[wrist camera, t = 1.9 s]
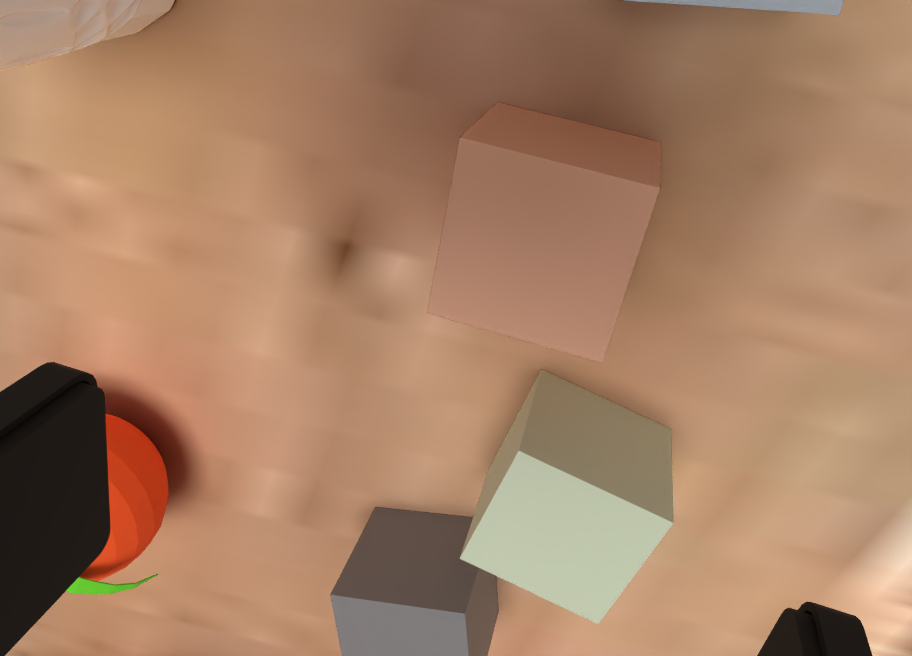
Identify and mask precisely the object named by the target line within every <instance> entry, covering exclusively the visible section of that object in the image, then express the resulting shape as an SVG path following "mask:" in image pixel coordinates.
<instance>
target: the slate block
mask: <svg viewBox="0 0 912 656" xmlns="http://www.w3.org/2000/svg"><path fill="white" fill-rule="evenodd" d="M625 1H639V2H654V3H669V4H684V5H699V6H714V7H729V8H744V9H759V10H774V11H788V12H803V13H818V14H833V15H840V11H841V7H842V3H843V0H625Z"/></svg>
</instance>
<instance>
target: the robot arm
mask: <svg viewBox="0 0 912 656" xmlns="http://www.w3.org/2000/svg"><path fill="white" fill-rule="evenodd" d="M110 529H111V527H110V504H109V482H108V459H107V437H106V415H105V396H104V392H103V391H102V389H100V388H98V387H97V383H96V379H95V378H94V376H93V375H91V374H89V373H86V372H83V371H80V370H77V369H74V368H71V367H67V366H64V365H61V364H58V363H55V362H50V363H46V364H43V365H41V366H40V367H38V368H36V369H35V370H33V371H32V372H30V373H29V374H27V375H26V376H24V377H23V378H21V379H20V380H18V381H17V382H15V383H14V384H12V385H10V386H9V387H7V388H6V389H4V390H3V391H1V392H0V656H5V655H6V654H7V653H8V652H9V651H10V650H11V648H12V647H13V646H14V645H15V644H16V643H17V642H18V641H19V640H20V639H21V638H22V637H23V636H24V635H25V634H26V633H27V631H28V630H29V629H30V628H31V627H32V626H33V625H34V624H35V623H36V622H37V621H38V620H39V619H40V618H41V617H42V616H43V615H44V613H45V612H46V611H47V610H48V609H49V608H50V607H51V606H52V605H53V604H54V603H55V602H56V601H57V600H58V599H59V598H60V597H61V595H62V594H63V593H64V592H65V591H66V590H67V589H68V588H69V587H70V586H71V585H72V584H73V583H74V582H75V581H76V580H77V578H78V577H79V576H80V575H81V574H82V573H83V572H84V571H85V570H86V569H87V568H88V567H89V566H90V565H91V564H92V563H93V562H94V560H95V559H96V558H97V557H98V556H99V555H100V554H101V552H102V551H103V549H104V548H105V546H106V544H107V541H108V539H109V535H110ZM757 656H872V653H871V650H870V647H869V643H868V640H867V637H866V634H865V630H864V627H863V625H862V623H861V621H860V620H859V619H858V618H857V617H856V616H853V615H850V614H847V613H844V612H841V611H838V610H835V609H831V608H828V607H825V606H822V605H819V604H816V603H812V602H805V603H804V604H802V605H801V607H800V608H799V609H798V610H795V609H792V608H787V609H785V610H784V611H783V613H782V614H781V616H780V617H779V619H778V621H777V623H776V624H775V626H774V628H773V630H772V631H771V633H770V635H769V636H768V638H767V640H766V642H765V643H764V645H763V647H762V649H761V650H760V652H759V654H758V655H757Z"/></svg>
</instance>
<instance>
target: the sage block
mask: <svg viewBox="0 0 912 656" xmlns="http://www.w3.org/2000/svg"><path fill="white" fill-rule="evenodd" d="M672 524H673V483H672V443H671V429H669V428H667V427H665V426H663V425H661V424H659V423H656V422H654V421H652V420H650V419H648V418H646V417H644V416H641V415H639V414H637V413H635V412H633V411H631V410H628V409H626V408H624V407H622V406H620V405H618V404H615V403H613V402H611V401H609V400H607V399H605V398H603V397H600V396H598V395H596V394H594V393H592V392H590V391H587V390H585V389H583V388H581V387H579V386H577V385H574V384H572V383H570V382H568V381H566V380H564V379H562V378H559V377H557V376H555V375H553V374H551V373H549V372H546V371H544V370H542V369H541V371H540V373H539V375H538V377H537V379H536V381H535V382H534V384H533V386H532V388H531V390H530V392H529V394H528V396H527V398H526V399H525V401H524V403H523V405H522V407H521V409H520V411H519V413H518V415H517V417H516V418H515V420H514V422H513V424H512V426H511V428H510V430H509V432H508V434H507V435H506V437H505V439H504V441H503V443H502V445H501V447H500V449H499V451H498V452H497V454H496V456H495V458H494V460H493V462H492V464H491V466H490V468H489V470H488V473H487V476H486V479H485V483H484V486H483V489H482V492H481V495H480V498H479V501H478V504H477V507H476V510H475V513H474V516H473V519H472V522H471V525H470V528H469V531H468V535H467V538H466V541H465V544H464V547H463V550H462V553H461V556H460V559H462V560H464V561H466V562H468V563H470V564H472V565H474V566H476V567H479V568H481V569H483V570H485V571H487V572H489V573H491V574H493V575H495V576H498V577H500V578H502V579H504V580H506V581H508V582H510V583H512V584H514V585H517V586H519V587H521V588H523V589H525V590H527V591H529V592H531V593H534V594H536V595H538V596H540V597H542V598H544V599H546V600H548V601H550V602H553V603H555V604H557V605H559V606H561V607H563V608H565V609H567V610H569V611H572V612H574V613H576V614H578V615H580V616H582V617H584V618H586V619H588V620H591V621H593V622H595V623H597V624H599V622H600V621H601V620H602V618H603V617H604V616H605V614H606V613H607V612H608V610H609V609H610V608H611V606H612V605H613V604H614V602H615V601H616V599H617V598H618V597H619V595H620V594H621V593H622V591H623V590H624V589H625V587H626V586H627V585H628V583H629V582H630V581H631V579H632V578H633V577H634V575H635V574H636V573H637V571H638V570H639V569H640V567H641V566H642V565H643V563H644V562H645V561H646V559H647V558H648V556H649V555H650V554H651V552H652V551H653V550H654V548H655V547H656V546H657V544H658V543H659V542H660V540H661V539H662V538H663V536H664V535H665V534H666V532H667V531H668V530H669V528H670V527H671V526H672Z"/></svg>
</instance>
